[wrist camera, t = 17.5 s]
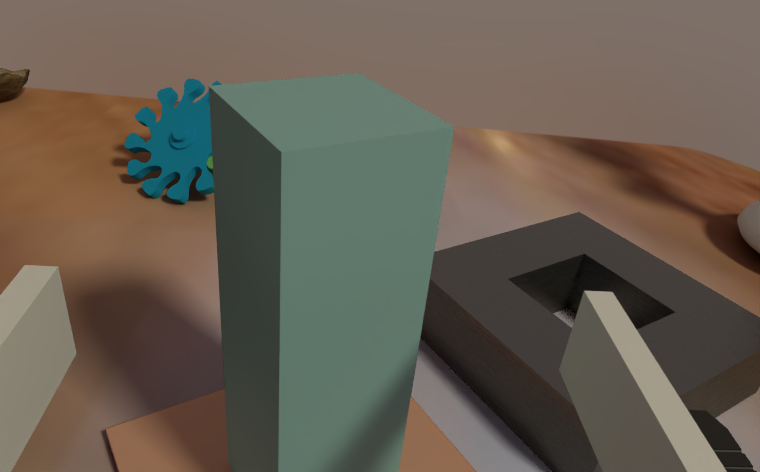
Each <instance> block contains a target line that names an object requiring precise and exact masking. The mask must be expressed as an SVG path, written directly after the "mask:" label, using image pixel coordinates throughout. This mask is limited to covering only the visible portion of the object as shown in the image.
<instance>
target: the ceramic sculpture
mask: <svg viewBox="0 0 760 472" xmlns="http://www.w3.org/2000/svg"><path fill="white" fill-rule="evenodd" d="M29 72H30V71H29V70H28V69H25V70H20V71H9V70H7V69H2V68H0V99H1V98H5V97H9V96H11V95H13V94H15V93H17V92H18V91H19V90H20V89H21V88H22V87H23V86H24V84H26V82H27V80H28V76H29Z"/></svg>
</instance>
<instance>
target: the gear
mask: <svg viewBox="0 0 760 472" xmlns="http://www.w3.org/2000/svg"><path fill="white" fill-rule="evenodd" d="M214 85H222V84H221V83H219V82H218V81H217V82H215V83H213V84H212V85H211V86H214ZM184 88H185V89H184V95H183V97H182V99H181V101H180V102H179V104H178V105H177V106H176V107H175V108H173V106H174V104H175V103H176V102H177V100H178V94H177V93H176V92H175V91H174V90H173V89H172V88H171V87H170V88H165V89H162V90H160V91H158V93H157V96H158V99H159V100H160V102H161V104H162V115H161V119H160V120H159V121H158V122H156V114H155V113H154V112H153V111H152V110H151V109H149V108H148V107H144V108H142V109H141V110H140V111H139V112H138V113H137V114H136V115H135V118H136V120H137V121H139V122H140V123H141V124H142V125H144V126H147V127H148V128H149V130H150V132H151V138H150V140H149V141H148V142H145V141H144V140H143V139H142V138H141V137H140V136H138V135H137V134H135V133H130V134H129V136H128V137H127V140H126V142H125V145H124V146H125V147H126V148H127V149H129V150H130V151H131V152H133V153H138V152H150V153H151V159H150V160H149V161H148V162H146V163H142V162H140V161H138V160H136V159H134V160H131V161H129V162H128V173H129V175H130V176H131V177H133V178H134V179H137V180H139V179H142V178H143V177H144V176H145V175H147V174H148V173H150V172H153V171H157V170H162V173H161V175H160V176H159V177H158V178H152V179H147V180H145V181H144V182H143V184H142V188H143V190H144V191H145V192H146V193H147V194H148V195H150V196H151V197H153V198H154V199H155V198H158V197H160V196H161V194H162V192H163V190H164V188H165V187H166V186H167V185H168V183H170V182H171V181H172V180H174V179H175V178H177V177H179V176H180V180H179V182H178V183H176V184H175V185H173V186H172V187H170V188H169V190H168V192H167V196H168V197H169V198H171V199H172V200H174V201H175V202H178V203H186V202H187V201H188V198H189V187H190V184H191V182H192V180H193V178H194V177H195V175H196V174H197V173H198V172H200V171H202V174H201V176H200V177H199V179H198V180H197V182H196V189H197V191H199V192H200V193H202V194H203V195H206V194H211V193H213V192H214V178H213V175H212V171H213V159H212V140H211V121H210V101H209V91H208V93H207V94H206V95H205V96H204V97H203V98H202V99H200V100H199V101H197V102H195V103H193V101H194V99H196V98H197V97H199V96H200V95H202V94H203V92H204V90H205V86H204V85H203V84H202V83H201V82H200V81H198V80H195V79H187V80H186V82H185V85H184ZM172 108H173V109H172ZM155 122H156V123H155Z"/></svg>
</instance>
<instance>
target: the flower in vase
mask: <svg viewBox="0 0 760 472" xmlns="http://www.w3.org/2000/svg"><path fill="white" fill-rule="evenodd" d="M737 223H738V227H739V230H740V233H741V235H742V237H743V239H744V240H745V241H746V242H747V243H748V244H749V245H750V246H751V247H752V248H753V249H754V250H756V251H757V252H758V253H760V200H759V201H756V202H754V203H752V204H750V205H748V206H747V207H746V208H745V209H744V210H743V211H742V212H741V213H740V214H739V215H738V218H737Z"/></svg>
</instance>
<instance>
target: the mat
mask: <svg viewBox="0 0 760 472" xmlns="http://www.w3.org/2000/svg"><path fill="white" fill-rule="evenodd" d="M106 433H107V438H108V441H109V444H110V448H111V451H112V454H113V457H114V460H115V464H116V467H117V470H118V472H233V471H232V469H231V467H230V465H229V462H228V447H227V427H226V408H225V389H221V390H219V391H216V392H213V393H210V394H207V395H204V396H201V397H198V398H195V399H192V400H189V401H186V402H183V403H181V404H178V405H175V406H172V407H169V408H166V409H163V410H160V411H157V412H154V413H151V414H148V415H145V416H143V417H140V418H137V419H134V420H131V421H128V422H125V423H122V424H119V425H116V426H113V427H110V428H108V429H106ZM399 472H476V470H475V469H474V468H473V467H472V466H471V465H470V463H469V462H468V461H467V460H466V459H465V458H464V457H463V455H462V454H461V453H460V452H459V451H458V450H457V448H456V447H455V446H454V445H453V444H452V443H451V442H450V440H449V439H448V438H447V437H446V436H445V435H444V433H443V432H442V431H441V430H440V429H439V428H438V427H437V425H436V424H435V423H434V422H433V421H432V420H431V418H430V417H429V416H428V415H427V414H426V413H425V412H424V410H423V409H422V408H421V407H420V406H419V405H418V403H417V402H416V401H415V400H414V399H413V398H412V397H411V398H410V405H409V411H408V417H407V423H406V429H405V436H404V442H403V448H402V454H401V461H400V467H399Z"/></svg>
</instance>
